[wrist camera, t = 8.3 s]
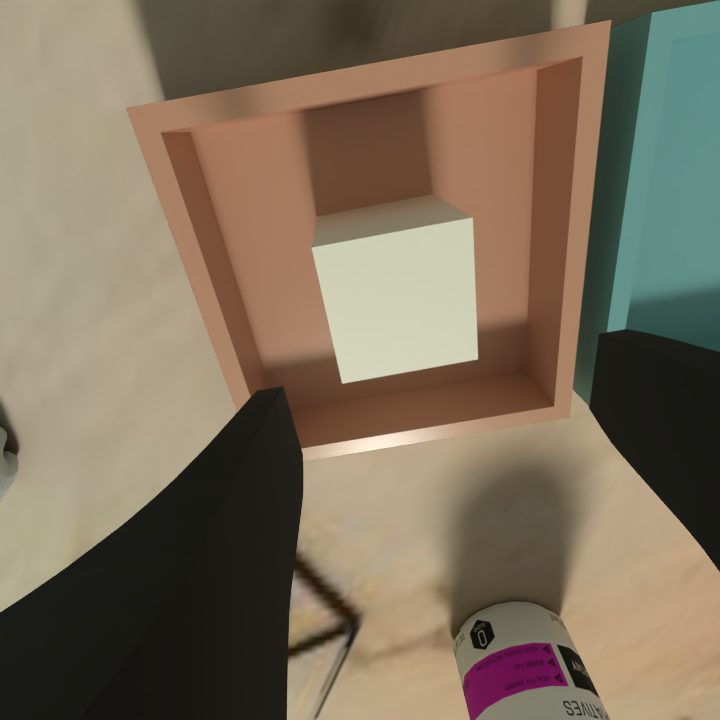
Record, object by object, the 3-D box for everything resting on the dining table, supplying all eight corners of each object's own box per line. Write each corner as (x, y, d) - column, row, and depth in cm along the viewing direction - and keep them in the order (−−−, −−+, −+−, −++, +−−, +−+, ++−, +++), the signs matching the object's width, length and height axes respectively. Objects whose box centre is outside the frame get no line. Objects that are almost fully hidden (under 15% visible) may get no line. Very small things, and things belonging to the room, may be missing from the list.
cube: (432, 194, 16) (472, 217, 11) (441, 304, 18) (478, 359, 14) (316, 216, 16) (311, 247, 12) (338, 323, 18) (341, 383, 14)
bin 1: (550, 44, 14) (611, 19, 11) (533, 375, 21) (569, 417, 18) (168, 113, 15) (126, 107, 12) (268, 419, 21) (258, 468, 18)
